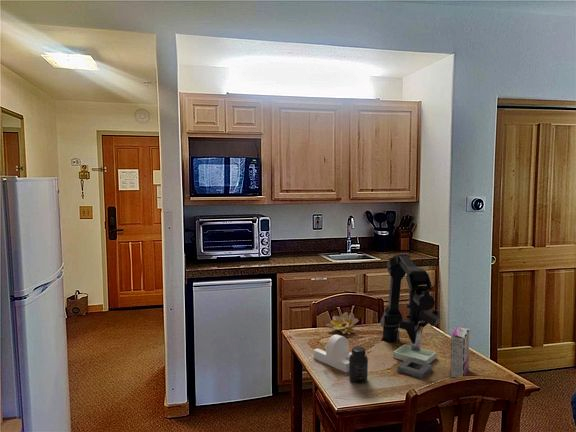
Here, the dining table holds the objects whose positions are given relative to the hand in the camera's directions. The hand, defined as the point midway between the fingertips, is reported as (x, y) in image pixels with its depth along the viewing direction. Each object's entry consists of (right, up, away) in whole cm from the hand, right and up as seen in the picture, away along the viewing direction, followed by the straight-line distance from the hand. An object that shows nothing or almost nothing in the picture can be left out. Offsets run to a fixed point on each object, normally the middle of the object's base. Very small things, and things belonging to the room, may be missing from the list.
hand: (415, 342), depth 162 cm
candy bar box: (+17, -12, -1) cm, 20 cm away
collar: (0, -12, +1) cm, 12 cm away
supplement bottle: (-23, -12, -7) cm, 27 cm away
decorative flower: (-23, -8, +45) cm, 51 cm away
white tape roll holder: (-29, -11, +9) cm, 33 cm away
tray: (+4, -11, +13) cm, 17 cm away
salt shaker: (0, -3, 0) cm, 3 cm away
